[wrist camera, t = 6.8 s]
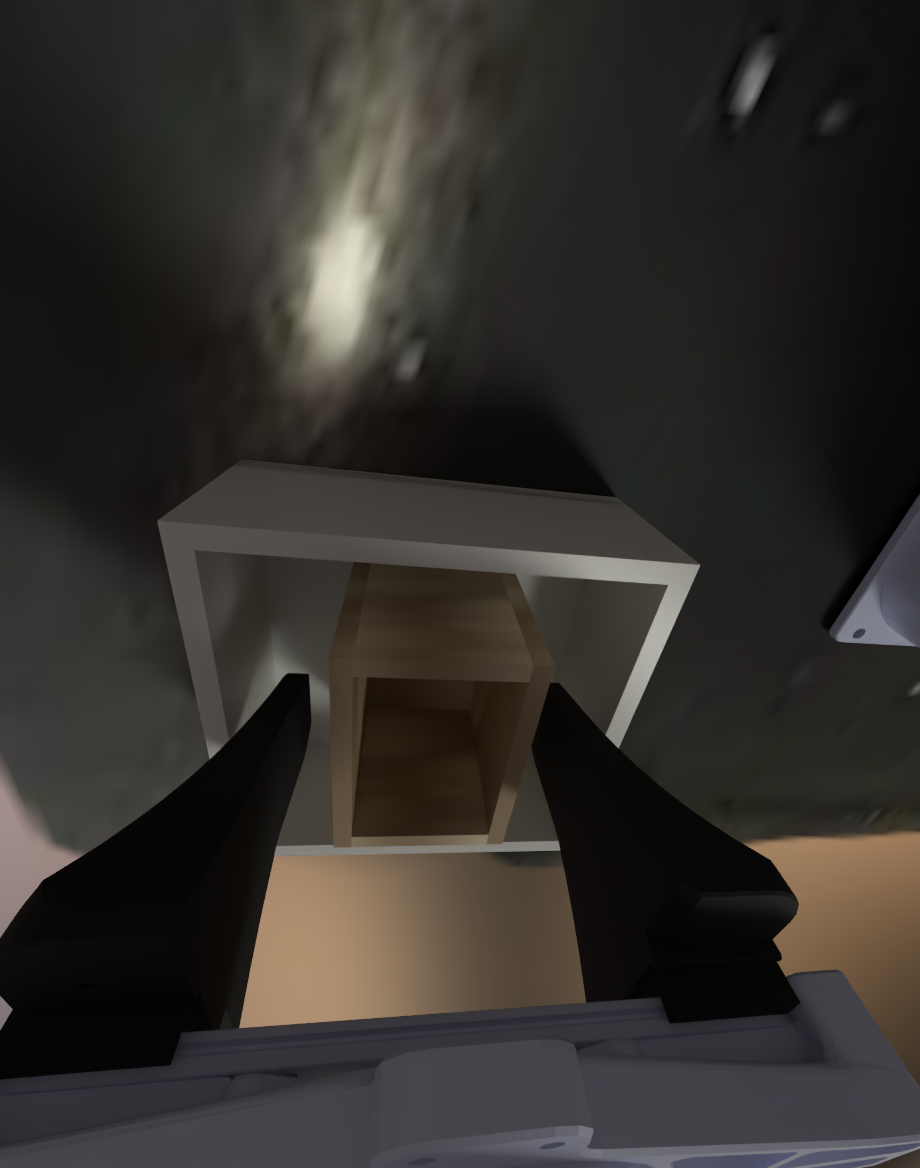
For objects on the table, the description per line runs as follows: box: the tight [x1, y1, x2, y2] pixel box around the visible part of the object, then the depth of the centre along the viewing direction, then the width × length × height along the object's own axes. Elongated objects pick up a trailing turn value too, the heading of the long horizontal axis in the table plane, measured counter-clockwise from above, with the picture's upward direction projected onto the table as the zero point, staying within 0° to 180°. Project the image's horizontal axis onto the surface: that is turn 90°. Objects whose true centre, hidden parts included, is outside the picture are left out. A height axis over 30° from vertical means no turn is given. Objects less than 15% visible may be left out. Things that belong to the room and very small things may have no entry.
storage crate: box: [157, 459, 700, 856], centre depth 15 cm, size 12×12×5 cm
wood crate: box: [329, 562, 555, 848], centre depth 14 cm, size 5×7×6 cm
